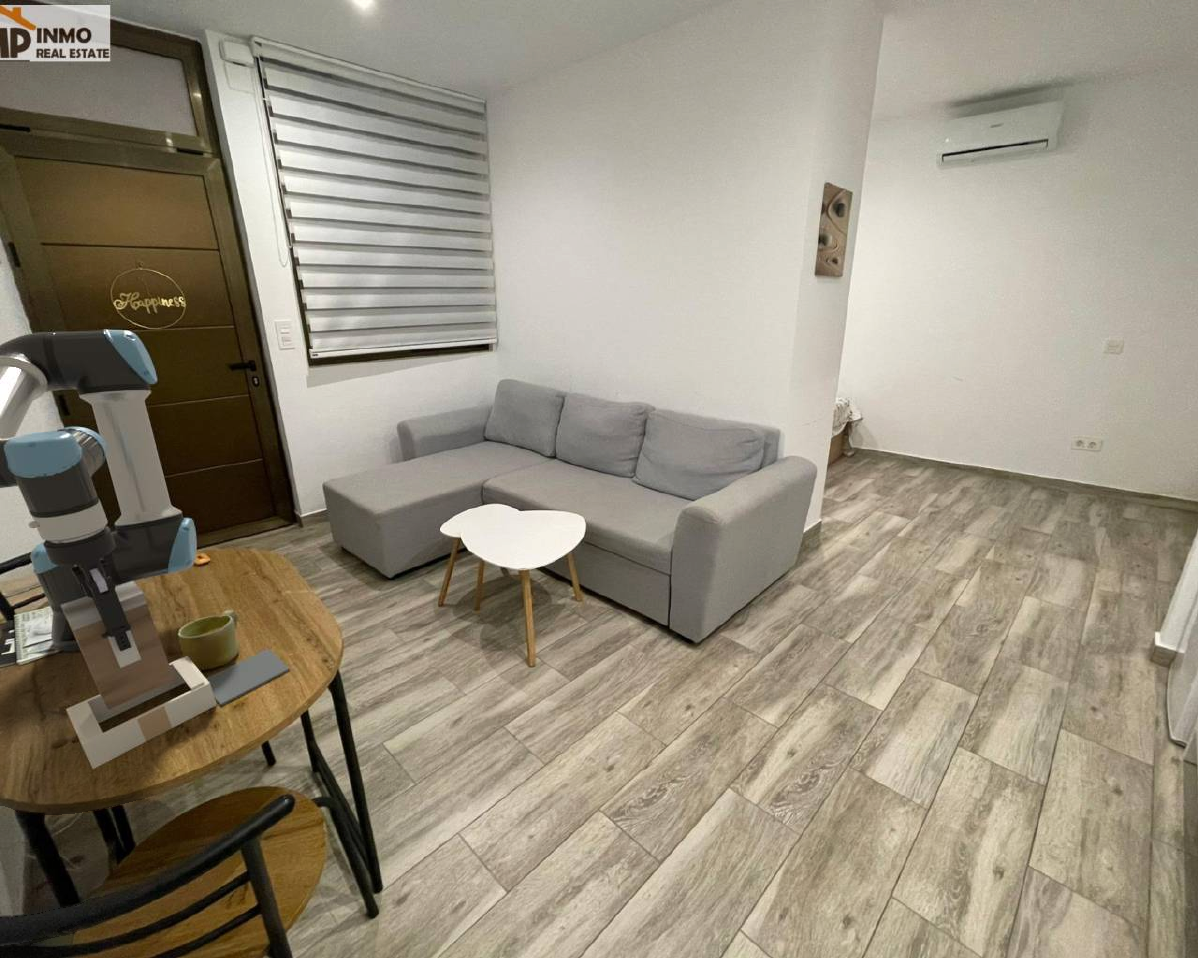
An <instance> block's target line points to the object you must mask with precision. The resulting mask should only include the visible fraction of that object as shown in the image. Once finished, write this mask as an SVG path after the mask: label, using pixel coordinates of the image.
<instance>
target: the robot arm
mask: <svg viewBox="0 0 1198 958" xmlns="http://www.w3.org/2000/svg"><path fill="white" fill-rule="evenodd" d="M157 382H158V376H157V373H156V369H155V366H154V364H153V362H152V358H151V356H150V354H149V352H148V351H147V348H146V347H145V345H144V343H143V341H142V340H141V339H140V338H139V336H138V335H136V333H135V332H132V331H131V330H126V329H125V330H123V329H106V328H104V329H91V330H72V331H71V330H70V331H69V330H68V331H42V332H34V333H33V332H32V333H28V334H24V335H20V336H17V337H15V338H12V339H10V340H8V341H5V342H4V343H1V344H0V489H5V488H12V487H18V489H19V491H20V494H21V495H22V497H23V500H24V502H25V504H26V506H27V509H28V511H29V514H30V516H31V517H32V519H33V521H31V522H29V523H28V526H29V528H31V529H35V528H37V532H38V534H39V536H40V538H41V539H42V540H44V541H42V542H41V543H39V544H38V545H37V546H35V547H34V548H33V549H32V550H31V552H30V555H29V557H30V561H31V564H32V566H33V573H34V574H35V575H36V578H37V579H38V582H39V584H40V586H41V588H42V590H43V592H44V595H45V598H46V600H47V602H48V604H49V606H50V608H51V611H52V621H51V622H52V623H51V642H52V643H53V645H54V648H55V647H56V648H57V649H56V648H55V649H56V650H58V651H60V652H66V653H71V652H72V653H74V652H81V650H80V647H79V645H78V643H77V641H76V638H75V636H74V634H73V631H72V629H71V627H70V625H69V622H68V620H67V618H66V616H65V614H64V612H63V610H62V608H61V605H62V604H65V603H68V602H71V601H74V600H77V599H80V598H83V597H86V596H88V597H90V598H93V601H94V603H95V605H96V607H97V609H98V611H99V614H100V616H101V619H102V621H103V623H104V626H105V628H106V630H107V632H106V633H105V634H102V637H103V639H104V638H107V637H108V640H109V642H110V644H111V647H112V649H113V652H114V654H115V657H116V659H117V661H118V664H119V666H120V668H122V667H124V666H127V665H129V664H131V663H134V662H136V661H138V660H141V657H140V655H139V652H138V649H137V647H136V644H135V642H134V639H133V637H132V634H131V631H130V630H131V626H130V625H129V623H128V621H127V618H126V616H125V613H124V611H123V608H122V606H121V603H120V601H119V598H118V596H117V593H116V591H115V588H116V586H119V585H122V584H125V583H128V582H131V581H134V582H136V581H137V582H138V581H141V580H147V579H149V578H154V577H160V576H164V575H172V574H173V573H178V572H181V571H186V570H188V569H190V568H192V567H193V565H194V564H195V562H196V559H197V552H198V551H197V548H198V547H197V543H198V542H197V531H196V526H195V523H194V520H193V519H192V518H189V517H184V516H183V511H182V510H181V509H178V508H176V507H175V506H173V505H172V503H171V499H170V495H169V491H168V487H167V483H166V480H165V475H164V473H163V472H164V471H163V469H162V468H163V467H162V463H161V460H160V457H159V452H158V449H157V444H156V441H155V437H154V432H153V429H152V426H151V421H150V417H149V412H148V410H147V406H146V402H145V401H146V399H147V398H148V397H149V395H150V394H152V390H151V386H150V385H154V384H156V383H157ZM61 390H62V391H63V390H66V391H67V390H68V391H69V390H76V391H77V393H78V396H79V397H78V398H80V399H81V400H83V401H84V402H87V403H88V404H90V405H91V407H92V411H93V415H94V418H95V421H96V425H97V429H98V432H96V431H94V430H92V429H89V428H87V427H81V426H67V427H64V428H58V429H57V430H54V431H43V432H41V431H40V432H34V433H29V434H24V435H21V436H16V435H17V432H18V430H19V429H20V426H21V424H22V423H23V421H24V418H25V416H26V415H27V413H28V411H29V409H30V406H31V404H32V403H33V401H35V400H38V399H39V398H41V397H42V396H43V395H45V393H48V392H54V391H61ZM105 458H106V459H105ZM105 461H106V462H107V465H108V470H109V473H110V477H111V480H112V484H113V487H114V488H113V489H114V492H115V495H116V498H117V503H118V507H119V509H120V513H121V515H120V516H119V518H118V519H117V520H116V521H115V522H114V527H115V531H111V528H110V527H109V526H108V519H107V516H106V512H105V510H104V508H103V505H102V501H101V500H100V498H99V497H98V495H97V491H96V489H95V486H94V484H93V483H94V482H93V480H92V477H93V475H94V474H95V473H96V472H97V470H99V469H100V468H101V467H102V466H103V464H104V463H105Z"/></svg>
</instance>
